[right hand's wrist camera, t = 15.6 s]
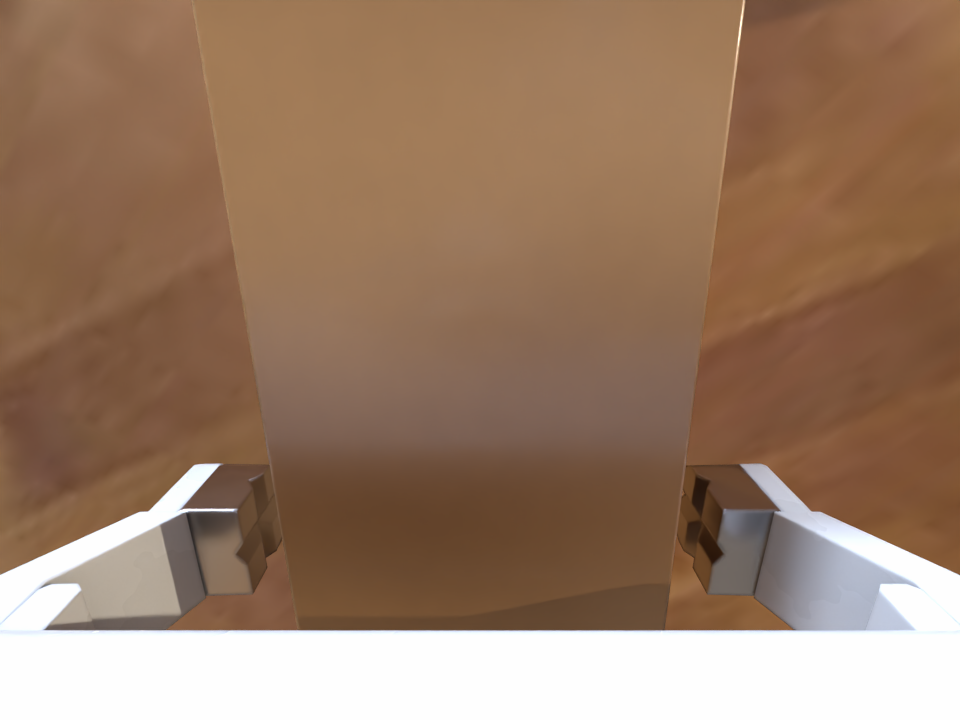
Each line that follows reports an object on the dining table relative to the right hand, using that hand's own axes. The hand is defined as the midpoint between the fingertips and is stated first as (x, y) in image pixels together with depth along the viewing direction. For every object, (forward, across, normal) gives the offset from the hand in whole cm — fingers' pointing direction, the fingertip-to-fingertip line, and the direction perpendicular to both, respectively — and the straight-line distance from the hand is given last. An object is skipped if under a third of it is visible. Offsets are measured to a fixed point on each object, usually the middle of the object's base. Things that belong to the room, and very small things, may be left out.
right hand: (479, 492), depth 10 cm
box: (+8, 0, -10) cm, 13 cm away
